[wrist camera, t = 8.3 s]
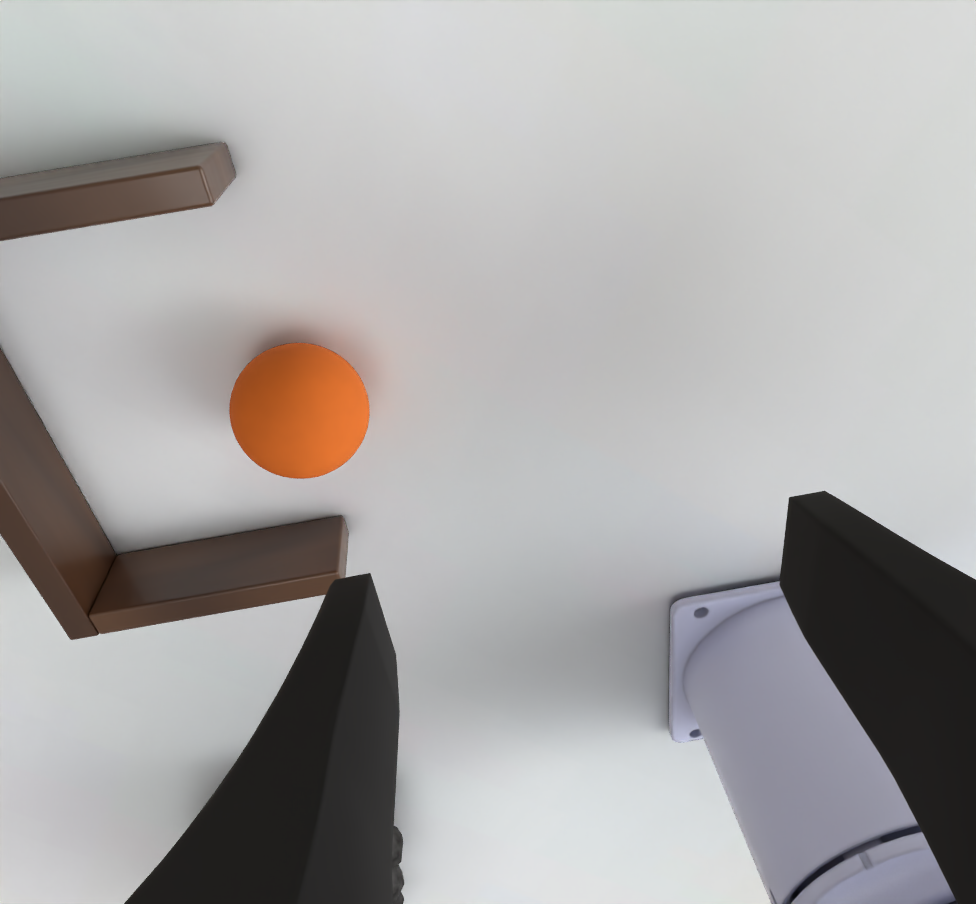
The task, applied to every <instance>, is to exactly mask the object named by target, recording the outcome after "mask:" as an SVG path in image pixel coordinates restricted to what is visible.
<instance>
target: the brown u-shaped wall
mask: <svg viewBox="0 0 976 904" xmlns="http://www.w3.org/2000/svg"><path fill="white" fill-rule="evenodd" d="M235 178H236V173H235V169H234V166H233V163H232V160H231V157H230V153H229V150H228V147H227V145H226V144H225V143H223V142H219V143H213V144H207V145H201V146H194V147H188V148H182V149H176V150H170V151H164V152H158V153H152V154H146V155H139V156H133V157H127V158H121V159H115V160H109V161H103V162H97V163H91V164H84V165H78V166H72V167H66V168H60V169H54V170H48V171H42V172H36V173H29V174H23V175H17V176H11V177H5V178H0V241H4V240H10V239H16V238H22V237H28V236H34V235H40V234H46V233H52V232H58V231H64V230H70V229H76V228H82V227H88V226H94V225H100V224H106V223H113V222H119V221H125V220H131V219H137V218H143V217H149V216H155V215H161V214H167V213H173V212H179V211H185V210H191V209H197V208H203V207H209V206H212V205H214V204H215V202H216V201H217V200H218V199H219V197H220V196H221V195H222V194H223V192H224V191H225V190H226V189H227V188H228V186H229V185H230V184H231V183H232V181H233V180H234V179H235ZM0 534H1V536H2V537H3V539H4V540H5V542H6V543H7V545H8V546H9V548H10V549H11V551H12V552H13V554H14V555H15V557H16V558H17V560H18V561H19V563H20V564H21V566H22V567H23V569H24V570H25V572H26V573H27V575H28V576H29V578H30V579H31V581H32V582H33V584H34V585H35V587H36V588H37V590H38V591H39V593H40V594H41V596H42V597H43V599H44V600H45V602H46V603H47V605H48V606H49V608H50V609H51V611H52V612H53V614H54V615H55V617H56V618H57V620H58V621H59V623H60V624H61V626H62V627H63V629H64V631H65V632H66V634H67V635H68V637H69V638H70V639H71V640H74V639H80V638H85V637H91V636H97V635H98V634H99V633H100V634H105V633H110V632H116V631H122V630H127V629H133V628H139V627H144V626H150V625H156V624H161V623H167V622H173V621H178V620H184V619H190V618H195V617H201V616H207V615H212V614H218V613H224V612H229V611H235V610H241V609H246V608H252V607H258V606H263V605H269V604H275V603H280V602H286V601H292V600H297V599H303V598H309V597H314V596H320V595H326V594H327V591H328V589H329V587H330V585H331V584H332V582H333V581H334V580H335V579H341V578H345V574H346V561H347V549H348V536H349V533H348V530H347V527H346V523H345V520H344V518H343V516H338V517H332V518H326V519H320V520H315V521H309V522H303V523H297V524H292V525H286V526H280V527H274V528H269V529H263V530H257V531H251V532H246V533H240V534H234V535H229V536H223V537H217V538H211V539H206V540H200V541H194V542H188V543H183V544H177V545H171V546H165V547H160V548H154V549H148V550H142V551H137V552H131V553H125V554H120V555H118V556H116V554H115V552H114V550H113V549H112V547H111V545H110V543H109V541H108V540H107V538H106V536H105V534H104V532H103V531H102V529H101V527H100V525H99V524H98V522H97V520H96V518H95V516H94V515H93V513H92V511H91V509H90V507H89V506H88V504H87V502H86V500H85V498H84V497H83V495H82V493H81V491H80V490H79V488H78V486H77V484H76V482H75V481H74V479H73V477H72V475H71V473H70V472H69V470H68V468H67V466H66V465H65V463H64V461H63V459H62V457H61V456H60V454H59V452H58V450H57V448H56V447H55V445H54V443H53V441H52V440H51V438H50V436H49V434H48V432H47V431H46V429H45V427H44V425H43V423H42V422H41V420H40V418H39V416H38V414H37V413H36V411H35V409H34V407H33V406H32V404H31V402H30V400H29V398H28V397H27V395H26V393H25V391H24V389H23V388H22V386H21V384H20V382H19V381H18V379H17V377H16V375H15V373H14V372H13V370H12V368H11V366H10V364H9V363H8V361H7V359H6V357H5V356H4V354H3V352H2V350H1V348H0Z"/></svg>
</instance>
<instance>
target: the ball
mask: <svg viewBox="0 0 976 904" xmlns="http://www.w3.org/2000/svg"><path fill="white" fill-rule="evenodd" d="M229 412H230V421H231V426H232V429H233V432H234V435H235V438H236V439H237V441H238V443H239V445H240V446H241V448H242V449H243V451H244V452H245V453H246V454H247V455H248V457H249V458H250V459H252V460H253V461H254V462H255V463H256V464H257V465H259V466H260V467H262V468H263V469H265V470H267V471H269V472H271V473H274V474H276V475H280V476H283V477H288V478H297V479H298V478H313V477H318V476H321V475H325V474H327V473H329V472H331V471H333V470H335V469H337V468H339V467H340V466H342V465H343V464H344V463H345V462H347V461H348V460H349V459H350V458H351V457H352V456H353V455H354V453H355V452H356V451H357V449H358V448H359V446H360V445H361V443H362V441H363V439H364V436H365V434H366V431H367V428H368V422H369V401H368V396H367V393H366V390H365V387H364V384H363V382H362V380H361V378H360V377H359V375H358V374H357V373H356V371H355V370H354V368H353V367H352V366H351V365H350V364H349V363H348V362H347V361H345V360H344V359H343V358H342V357H341V356H339V355H338V354H336V353H334V352H333V351H331V350H329V349H326V348H324V347H321V346H317V345H313V344H307V343H289V344H284V345H280V346H277V347H274V348H271V349H269V350H267V351H264V352H263V353H261V354H260V355H258V356H257V357H255V358H254V359H253V360H252V361H251V362H250V363H248V365H247V366H246V367H245V368H244V369H243V371H242V372H241V373H240V375H239V377H238V378H237V380H236V382H235V385H234V388H233V390H232V394H231V399H230V410H229Z"/></svg>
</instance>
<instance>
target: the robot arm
mask: <svg viewBox="0 0 976 904" xmlns="http://www.w3.org/2000/svg"><path fill="white" fill-rule="evenodd" d="M701 607H702V608H701ZM699 608H701V609H699ZM697 609H698V610H697ZM669 732H670V735H671V738H672V740H674V741H675V742H679V743H680V742H688V741H693V740H699V739H704V741H705V743H706V746H707V748H708V751H709V753H710V755H711V758H712V760H713V763H714V765H715V768H716V770H717V772H718V775H719V777H720V780H721V782H722V785H723V787H724V789H725V792H726V794H727V797H728V799H729V802H730V804H731V806H732V809H733V811H734V814H735V816H736V819H737V821H738V823H739V826H740V828H741V831H742V833H743V836H744V838H745V840H746V843H747V845H748V848H749V850H750V853H751V855H752V857H753V860H754V862H755V865H756V867H757V870H758V872H759V874H760V877H761V879H762V882H763V884H764V887H765V889H766V892H767V894H768V896H769V899H770V901H771V904H976V580H975V579H973V578H972V577H970V576H968V575H966V574H964V573H963V572H961V571H959V570H957V569H955V568H954V567H952V566H950V565H948V564H946V563H945V562H943V561H941V560H939V559H938V558H936V557H934V556H933V555H931V554H929V553H927V552H926V551H924V550H922V549H921V548H919V547H917V546H915V545H914V544H912V543H910V542H909V541H907V540H905V539H904V538H902V537H900V536H899V535H897V534H895V533H894V532H892V531H891V530H889V529H887V528H886V527H884V526H882V525H881V524H879V523H877V522H876V521H874V520H872V519H871V518H869V517H868V516H866V515H864V514H863V513H861V512H859V511H858V510H856V509H854V508H853V507H851V506H850V505H848V504H846V503H845V502H843V501H841V500H839V499H838V498H836V497H834V496H833V495H831V494H829V493H827V492H825V491H821V492H816V493H810V494H805V495H799V496H794V497H789V504H788V512H787V521H786V530H785V539H784V548H783V557H782V566H781V574H780V581H777V582H772V583H766V584H760V585H755V586H749V587H744V588H738V589H732V590H727V591H721V592H716V593H710V594H704V595H699V596H693V597H688V598H683V599H680V600H678V601H676V602H675V603H674V604H673V605H672V606H671V610H670V677H669ZM398 733H399V693H398V677H397V662H396V653H395V650H394V647H393V644H392V640H391V637H390V634H389V631H388V628H387V625H386V621H385V618H384V615H383V612H382V609H381V605H380V602H379V599H378V596H377V593H376V590H375V586H374V583H373V580H372V577H371V574H370V573H368V574H363V575H357V576H352V577H346V578H341V579H335V580H334V581H333V582H332V584H331V585H330V587H329V589H328V591H327V594H326V596H325V599H324V601H323V603H322V605H321V608H320V610H319V612H318V614H317V617H316V619H315V621H314V623H313V625H312V627H311V629H310V632H309V634H308V636H307V638H306V640H305V642H304V644H303V646H302V648H301V650H300V652H299V654H298V656H297V658H296V660H295V662H294V664H293V665H292V667H291V669H290V671H289V673H288V675H287V677H286V679H285V681H284V683H283V685H282V686H281V688H280V690H279V692H278V694H277V695H276V697H275V699H274V700H273V702H272V704H271V706H270V707H269V709H268V711H267V712H266V714H265V716H264V717H263V719H262V721H261V723H260V724H259V726H258V728H257V729H256V731H255V733H254V734H253V736H252V738H251V739H250V741H249V742H248V744H247V745H246V747H245V749H244V750H243V752H242V753H241V755H240V756H239V758H238V759H237V761H236V762H235V764H234V765H233V767H232V768H231V770H230V771H229V773H228V774H227V775H226V777H225V778H224V780H223V781H222V783H221V784H220V785H219V787H218V788H217V790H216V791H215V793H214V794H213V795H212V797H211V798H210V799H209V801H208V802H207V803H206V805H205V806H204V807H203V809H202V810H201V811H200V813H199V814H198V815H197V817H196V818H195V819H194V820H193V822H192V823H191V824H190V826H189V827H188V828H187V830H186V831H185V832H184V834H183V835H182V836H181V837H180V839H179V840H178V841H177V842H176V844H175V845H174V846H173V847H172V849H171V850H170V851H169V852H168V854H167V855H166V856H165V857H164V858H163V860H162V861H161V862H160V863H159V864H158V866H157V867H156V868H155V869H154V870H153V871H152V872H151V874H150V875H149V876H148V877H147V878H146V879H145V880H144V882H143V883H142V884H141V885H140V886H139V887H138V888H137V889H136V891H135V892H134V893H133V894H132V895H131V896H130V897H129V899H128V900H127V901H126V902H125V903H124V904H393V883H392V845H393V825H394V807H395V789H396V771H397V752H398Z"/></svg>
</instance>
